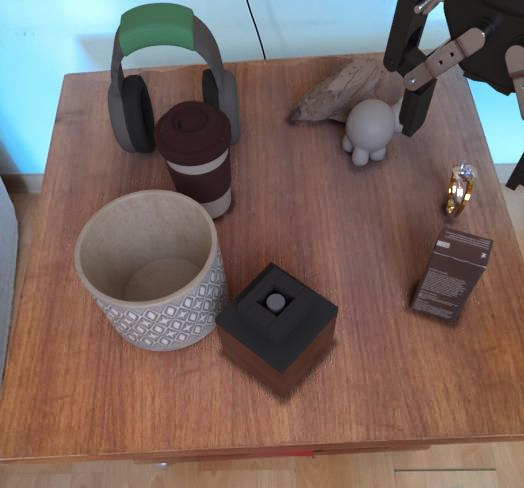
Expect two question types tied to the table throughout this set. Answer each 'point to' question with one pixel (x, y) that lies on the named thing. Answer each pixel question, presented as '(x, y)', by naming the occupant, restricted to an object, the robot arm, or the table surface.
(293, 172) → the table surface
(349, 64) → the stone
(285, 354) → the base pad
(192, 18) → the headphones
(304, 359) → the stand
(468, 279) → the box
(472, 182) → the ring
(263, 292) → the top pad
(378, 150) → the chubby cartoon animal
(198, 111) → the coffee cup
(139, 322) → the planter
